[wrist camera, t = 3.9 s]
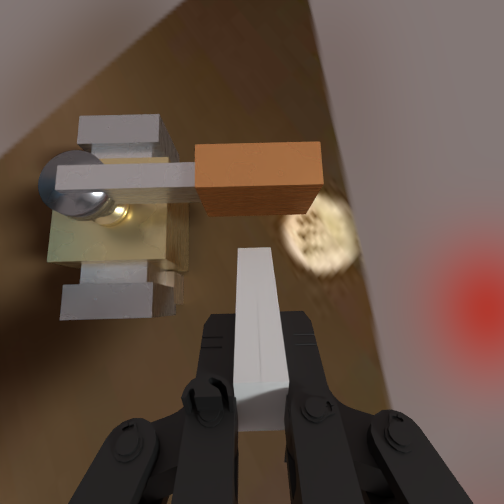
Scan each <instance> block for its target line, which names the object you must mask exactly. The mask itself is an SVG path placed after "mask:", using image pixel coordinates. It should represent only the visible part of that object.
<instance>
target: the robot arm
mask: <svg viewBox="0 0 504 504" xmlns="http://www.w3.org/2000/svg"><path fill="white" fill-rule="evenodd" d="M181 399H182V402H183V405H184V407H183V408H182V409H180V410H179V411H178V412H176V413H174V414H172V415H170V416H167V417H165V418H162V419H159V420H157V421H154V422H151V423H150V422H149V421H147V420H145V419H143V418H133V419H130V420H127V421H124V422H122V423H121V424H120V425H118V426H117V427H116V428H115V429H113V431H112V432H111V433H110V434H109V436H108V437H107V438H106V440H105V441H104V443H103V445H102V447H101V448H100V450H99V452H98V453H97V455H96V457H95V459H94V460H93V462H92V464H91V465H90V467H89V469H88V471H87V472H86V474H85V476H84V478H83V479H82V481H81V483H80V484H79V486H78V488H77V490H76V491H75V493H74V495H73V496H72V498H71V500H70V502H69V503H68V504H167V501H168V498H169V495H171V494H173V496H172V502H171V504H238V456H239V453H238V431H265V430H284V428H285V434H286V450H285V462H287V470H288V479H289V489H290V499H291V504H364V503H365V504H473V502H472V501H471V499H470V498H469V497H468V495H467V494H466V492H465V491H464V490H463V488H462V487H461V485H460V484H459V483H458V481H457V480H456V478H455V477H454V475H453V474H452V473H451V471H450V470H449V468H448V467H447V466H446V464H445V463H444V461H443V460H442V458H441V457H440V456H439V454H438V453H437V451H436V450H435V448H434V447H433V446H432V444H431V443H430V441H429V440H428V439H427V437H426V436H425V434H424V433H423V432H422V430H421V429H420V428H419V426H418V425H417V424H416V423H415V422H414V421H413V420H412V419H411V418H409V417H408V416H406V415H404V414H403V413H401V412H398V411H394V410H382V411H380V412H379V413H377V414H375V416H374V415H371V414H368V413H365V412H361V411H358V410H355V409H352V408H350V407H347V406H345V405H344V404H342V403H341V402H339V401H338V400H337V399H336V398H335V397H334V396H333V394H332V393H331V391H330V390H329V387H328V385H327V382H326V378H325V374H324V370H323V366H322V362H321V358H320V354H319V350H318V347H317V343H316V339H315V336H314V331H313V327H312V323H311V321H310V319H309V318H308V317H307V315H306V314H305V313H304V312H303V311H285V312H279V305H278V297H277V290H276V283H275V276H274V269H273V261H272V254H271V247H270V248H238V264H237V292H236V314H211V315H210V317H209V318H208V320H207V321H206V323H205V324H204V329H203V335H202V342H201V350H200V355H199V361H198V368H197V374H196V378H195V379H193V380H191V382H190V383H189V384H188V385H187V386H186V387H185V389H184V392H183V394H182V397H181Z"/></svg>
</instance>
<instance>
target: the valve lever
mask: <svg viewBox="0 0 504 504" xmlns="http://www.w3.org/2000/svg"><path fill="white" fill-rule="evenodd" d="M323 184H324V183H323V171H322V159H321V147H320V142H283V143H241V144H199V145H195V162H183V163H142V164H104V163H102V162H101V161H100V160H99V159H98V158H97V157H96V156H95V155H93V154H91V153H89V152H86V151H81V150H72V151H67V152H64V153H61V154H59V155H57V156H55V157H54V158H53V159H51V160H50V161H49V162H48V163H47V164H46V166H45V167H44V168H43V170H42V172H41V174H40V177H39V182H38V189H39V194H40V196H41V199H42V200H43V202H44V203H45V204H46V205H47V206H48V207H49V208H51V209H52V210H54V211H56V212H58V213H60V214H62V215H65V216H67V217H69V218H71V219H73V220H77V221H91V220H94V219H97V218H99V217H105V216H108V215H110V214H111V213H113V212H114V211H115V209H116V207H117V205H118V204H157V203H197V202H202V204H203V206H204V208H205V210H206V212H207V215H208V217H216V216H255V215H293V214H306V213H307V211H308V209H309V208H310V206H311V204H312V203H313V201H314V199H315V198H316V196H317V194H318V193H319V191H320V189H321V188H322V186H323Z"/></svg>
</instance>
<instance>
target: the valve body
mask: <svg viewBox="0 0 504 504" xmlns="http://www.w3.org/2000/svg"><path fill="white" fill-rule="evenodd" d="M77 144H78V145H79V146H80V147H81V148H82V149H83V150H84V151H86V152H89V153H91V154H93V155H95V156H96V157H97V158H98V159H99V160H100V161H101V162H102V163H104V164H142V163H179V154H178V152H177V150H176V148H175V146H174V144H173V142H172V140H171V138H170V135H169V133H168V131H167V129H166V127H165V125H164V123H163V121H162V119H161V117H160V114H149V115H104V116H80V118H79V129H78V139H77ZM188 247H189V203H157V204H118V205H117V207H116V209H115V211H114V212H113V213H111V214H110V215H108V216H105V217H99V218H97V219H94V220H91V221H77V220H73V219H71V218H69V217H67V216H65V215H62V214H60V213H58V212H56V211H54V210H53V211H52V220H51V229H50V238H49V247H48V256H47V262H49V263H54V264H58V265H63V266H68V267H72V268H77V269H81V276H80V284H74V285H63V291H62V302H61V312H60V320H84V319H118V318H152V317H161V316H170V315H176V304H183V296H184V276H183V275H181V274H179V273H177V272H186V271H188Z"/></svg>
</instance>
